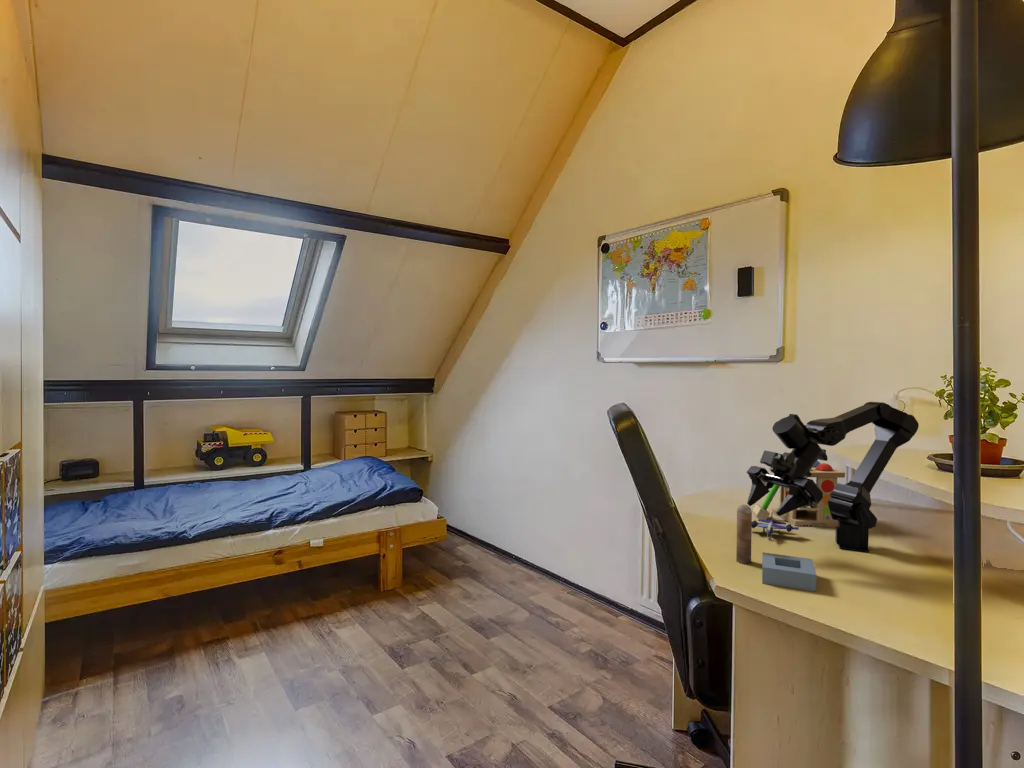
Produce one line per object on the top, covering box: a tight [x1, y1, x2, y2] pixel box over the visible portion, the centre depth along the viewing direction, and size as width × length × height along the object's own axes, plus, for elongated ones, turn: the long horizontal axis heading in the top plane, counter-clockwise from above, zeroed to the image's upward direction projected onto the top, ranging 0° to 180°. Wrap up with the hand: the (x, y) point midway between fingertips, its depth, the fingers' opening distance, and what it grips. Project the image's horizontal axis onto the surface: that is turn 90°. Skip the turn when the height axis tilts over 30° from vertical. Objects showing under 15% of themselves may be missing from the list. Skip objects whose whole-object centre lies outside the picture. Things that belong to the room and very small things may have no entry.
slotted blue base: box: [761, 552, 817, 593], centre depth 116 cm, size 10×10×4 cm
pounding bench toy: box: [751, 460, 846, 527], centre depth 161 cm, size 23×14×18 cm, turn 89°
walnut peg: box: [735, 504, 753, 565], centre depth 126 cm, size 3×3×14 cm
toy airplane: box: [752, 511, 800, 541], centre depth 145 cm, size 13×14×4 cm
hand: (762, 509), depth 127 cm, fingers open, 9 cm apart
